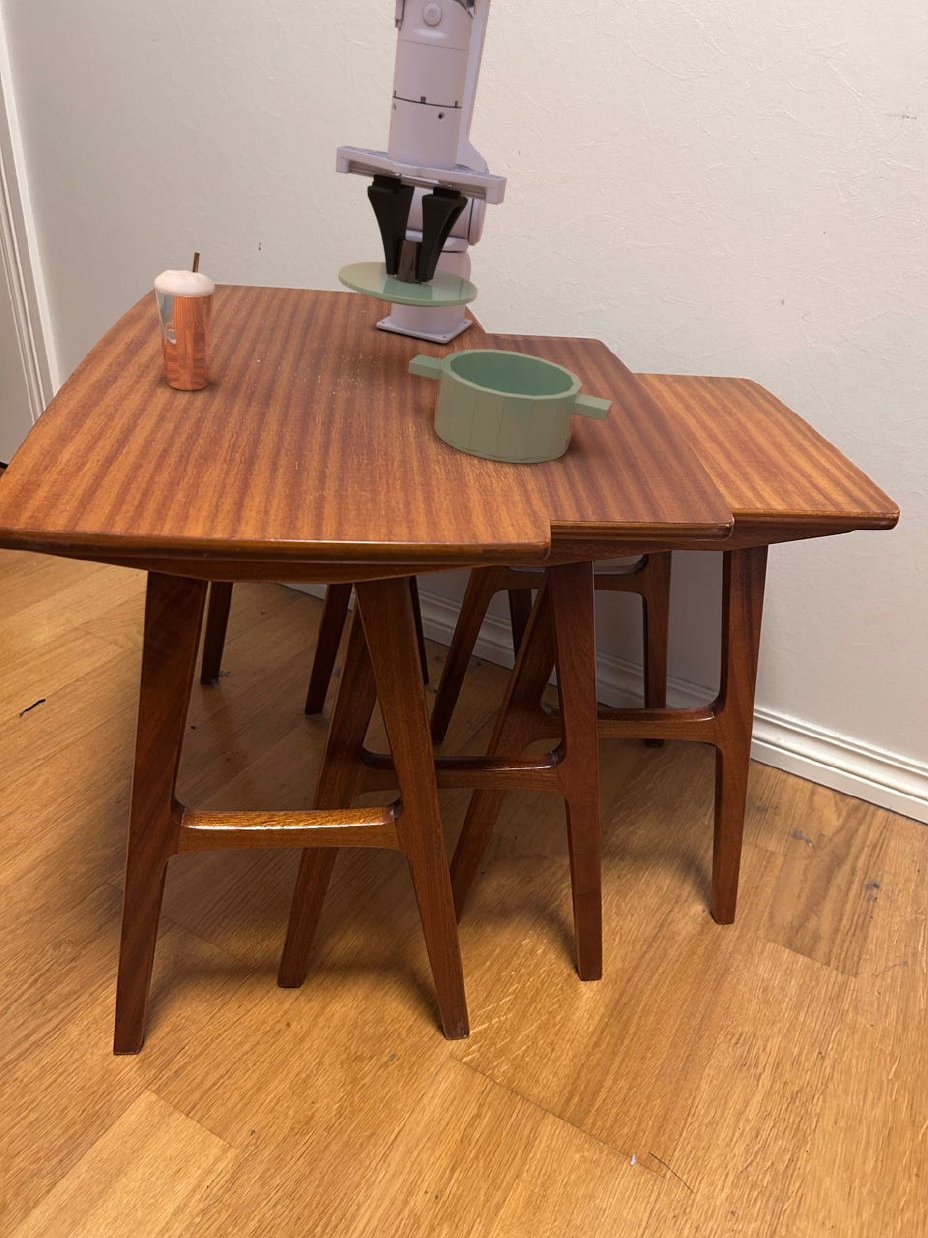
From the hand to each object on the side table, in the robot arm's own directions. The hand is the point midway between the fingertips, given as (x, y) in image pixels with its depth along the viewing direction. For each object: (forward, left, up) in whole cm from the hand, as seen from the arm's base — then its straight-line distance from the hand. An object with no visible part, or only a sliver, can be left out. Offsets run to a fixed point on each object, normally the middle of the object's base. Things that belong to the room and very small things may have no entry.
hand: (409, 276), depth 81 cm
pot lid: (0, 0, -1) cm, 1 cm away
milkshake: (+14, -14, -9) cm, 22 cm away
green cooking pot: (+8, +12, -9) cm, 17 cm away
